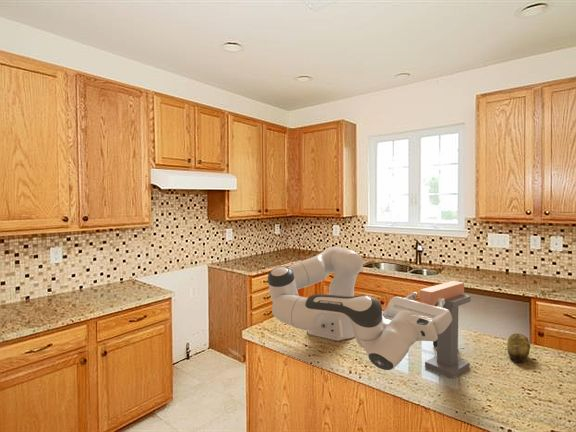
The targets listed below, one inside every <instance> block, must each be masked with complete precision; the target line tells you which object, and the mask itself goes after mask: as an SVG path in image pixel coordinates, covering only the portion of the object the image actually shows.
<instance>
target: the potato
mask: <svg viewBox="0 0 576 432" xmlns="http://www.w3.org/2000/svg"><path fill="white" fill-rule="evenodd" d="M506 345H507V348H506V349H507V350H506V351H507V354H508V356H509V358H510V359H512V360H513V361H515V362H518V363H524V362H526V361H527V360H528V357H529V356H530V350H531V344H530V341H529V338H528V337H527V336H525V335H523V334H521V333H513V334H511V335H509V337H508V339H507V344H506Z"/></svg>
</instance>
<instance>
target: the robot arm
mask: <svg viewBox="0 0 576 432" xmlns="http://www.w3.org/2000/svg"><path fill="white" fill-rule="evenodd" d="M363 267H364V260H363V257H362V256H361V254H359V253H357V252H356V251H354V250H352V249H348V248H345V247H340V246H330V247H327V248H326V249H324V250H323V251H321V252H320V253H319V254H316V255H314V256H311V257H310V258H307V259H304V260H301V261H298V262H296V263H294V264H291V265H289V266H277V267H273V269H271V270H270V271H269V273H268V275H267V283H268V289H269V295H270V298H271V301H272V305H271V312H272V315H273V317H274V318H275V319H277V320H278V321H279V322H281V323H283V324H285V325H288V326H290V327H293V328H296V329H299V330H304V331H307V334H308V335H310V336H314V337H318V338H319V337H320V338H324V339H328V340H332V341H336V342H339V341H342V340H347V339H349V340H350V339H353V338H354V339H355V340H356V343H357V344H358V345H359V347H361V348H362V349H364V351H365V352H366V354H367V356H368V359H369V361H370V362H371V364H372V365H374V366H375V367H377V368H378V369H380V370H384V371H390V370H393V369H394V368H396V367H397V366H398V365H399V364H400V363H401V362H402V361H403V359H404V358H405V357H406V356H407V355H408V353H409V352H410V351H409V350H410V347H411V346H412V345H414V344H415V343H416V342H421V341H422V342H433V341H436V340H437V339H438V336H437V334H441V333H443V332H444V331H445V330H446V329H447V327H448V326H449V325H450V323H451V321H452V316H451V313H450V311H449V310H448V309H444V308H443V305H444V304H445V300H444V299H442V298H439V299H438V300H437V302H438V306H434V304H427V303H423V302H420V301H416V300H417V299H418V298H419V294H418V292H416V291H412V292H411V294H408V295H406V296H404V297H400V296H398V295H397V296H393V297H391V299H390V300H389V301H388V302H389V303H388V304H387V306H386V307H385V309H384V310H383V307H382V303H381V302H380V301H379V300H378V299H377V298H375V297H373V296H371V295H365V294H360V295H355V285H356V280H357V276H358V275H359V273H360V272H361V271H362V269H363ZM332 273H333V274H334V275H333V277H332V278H333V279H332V280H331V282H330V284H329V286H328V291H329V293H328V294H327V293H325V294H322V293H318V294H317V293H316V294H315V293H314V294H312V295H309V297H306V296H301V295H299V290H300V289H305V288H307V287H310V286H312V285H315V284H318V283H320V282H323V281H324V280H325V279H326V277H328V276H329V275H330V274H332ZM439 305H440V306H439ZM383 318H384V319H386V320H390V321H389V323H385V322H384V319H383Z"/></svg>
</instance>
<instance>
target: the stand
mask: <svg viewBox="0 0 576 432" xmlns="http://www.w3.org/2000/svg"><path fill="white" fill-rule="evenodd" d="M471 297H472V296H471V295H467V294H461V295H458V296H455V297H452V298H449V299H446V300H445V304H444V305H443V308H444V309H448V310H449V311H450V313H451V316H452V321H451V323H450V325H449V326H448V327H447V329H446V330H445V331H444V332H443V333H441V334H437V336H438V339H437V348H436V356H433V357H431V358H429V359H428V360H426V361H424V368H425V369H428V370H431V371H433V372H435V373H438V374H439V375H442V376H446V377H447V378H450V379H454V378H456V377H458V376H459V375H461V374H463V373H464V372H465V371H467V370H469V369H470V367H471V365H470V362H469V361H466V360H464V359H461V358H459V307H460V306H463V305H465V304H468V303H470V302H471ZM435 304H437V306H438V302H437V303H434V305H435ZM439 306H440V305H439Z"/></svg>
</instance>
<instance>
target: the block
mask: <svg viewBox="0 0 576 432" xmlns="http://www.w3.org/2000/svg"><path fill="white" fill-rule="evenodd" d="M461 294H463V295H465V283H464V282H462V281H457V280H450V281H447V282H443V283H440V284H436V285H433V286H429V287H425V288H421V289H419V302H421V303H425V304H429V305H435V303H437V300H438V299H439V298H442V299H444V300H446V299H449V298H452V297H455V296H458V295H461Z"/></svg>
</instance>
